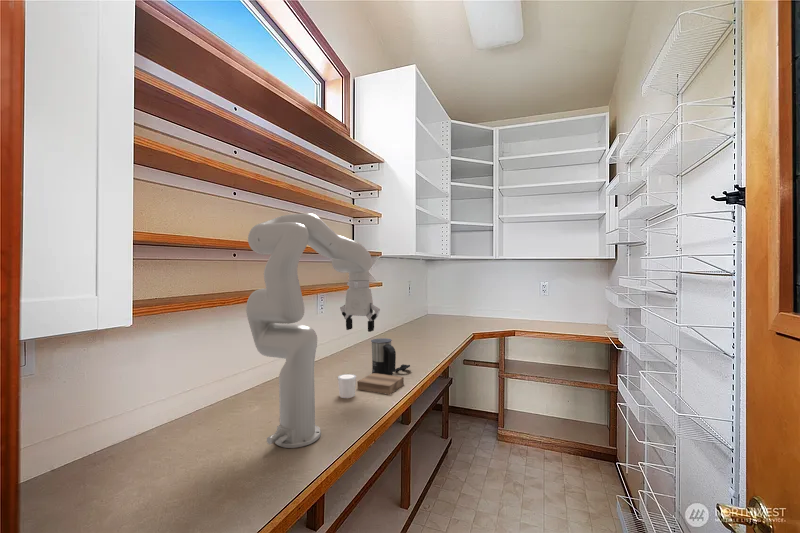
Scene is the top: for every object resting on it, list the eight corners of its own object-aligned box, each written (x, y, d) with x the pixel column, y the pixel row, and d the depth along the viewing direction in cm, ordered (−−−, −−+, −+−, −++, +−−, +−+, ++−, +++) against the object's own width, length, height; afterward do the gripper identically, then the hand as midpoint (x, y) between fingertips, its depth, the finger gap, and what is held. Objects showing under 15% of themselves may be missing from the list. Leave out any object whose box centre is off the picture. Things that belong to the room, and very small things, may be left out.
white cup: (355, 398, 131) (354, 379, 131) (336, 398, 131) (335, 379, 131) (357, 391, 138) (357, 373, 138) (339, 392, 138) (339, 373, 138)
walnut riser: (389, 394, 134) (389, 386, 134) (357, 389, 141) (357, 381, 141) (403, 384, 145) (403, 377, 145) (373, 380, 151) (373, 372, 151)
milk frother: (367, 374, 159) (366, 340, 159) (389, 366, 172) (389, 334, 172) (392, 380, 151) (392, 344, 151) (414, 371, 163) (413, 338, 163)
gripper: (334, 285, 138) (335, 330, 139) (373, 286, 130) (374, 333, 131) (346, 284, 145) (347, 327, 145) (383, 284, 137) (384, 330, 137)
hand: (360, 330), depth 138 cm, fingers open, 9 cm apart
